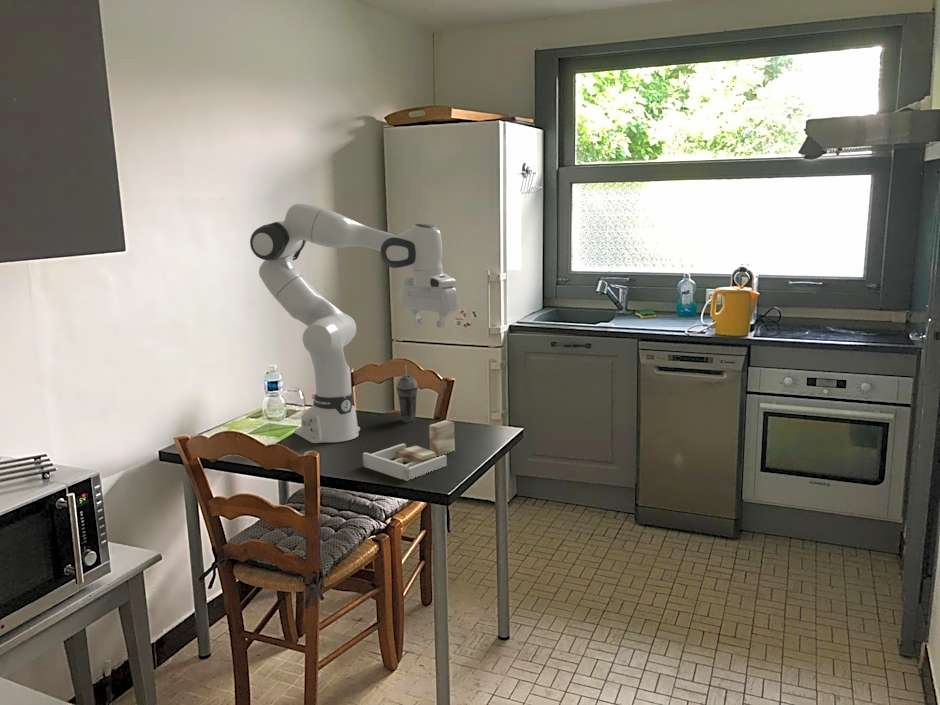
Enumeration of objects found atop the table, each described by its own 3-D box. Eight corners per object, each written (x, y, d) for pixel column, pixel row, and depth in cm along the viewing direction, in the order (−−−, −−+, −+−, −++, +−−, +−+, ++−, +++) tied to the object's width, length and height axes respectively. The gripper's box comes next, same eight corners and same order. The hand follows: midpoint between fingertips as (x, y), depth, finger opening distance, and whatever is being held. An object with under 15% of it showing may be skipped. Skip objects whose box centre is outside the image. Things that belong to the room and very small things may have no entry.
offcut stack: (394, 459, 229) (393, 447, 228) (408, 454, 233) (407, 442, 232) (427, 469, 219) (427, 457, 219) (441, 464, 223) (441, 452, 223)
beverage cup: (421, 417, 271) (419, 361, 267) (416, 423, 264) (415, 365, 260) (400, 417, 272) (398, 361, 268) (395, 423, 264) (393, 365, 260)
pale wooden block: (430, 454, 232) (429, 425, 230) (446, 448, 237) (445, 420, 235) (438, 457, 230) (437, 427, 228) (454, 451, 235) (454, 422, 233)
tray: (363, 466, 223) (362, 453, 222) (403, 452, 234) (403, 440, 233) (406, 481, 211) (406, 466, 210) (446, 465, 222) (446, 452, 221)
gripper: (396, 278, 236) (398, 323, 239) (445, 282, 222) (446, 330, 225) (411, 276, 241) (413, 321, 243) (460, 280, 227) (461, 327, 230)
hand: (429, 325), depth 234 cm, fingers open, 8 cm apart
